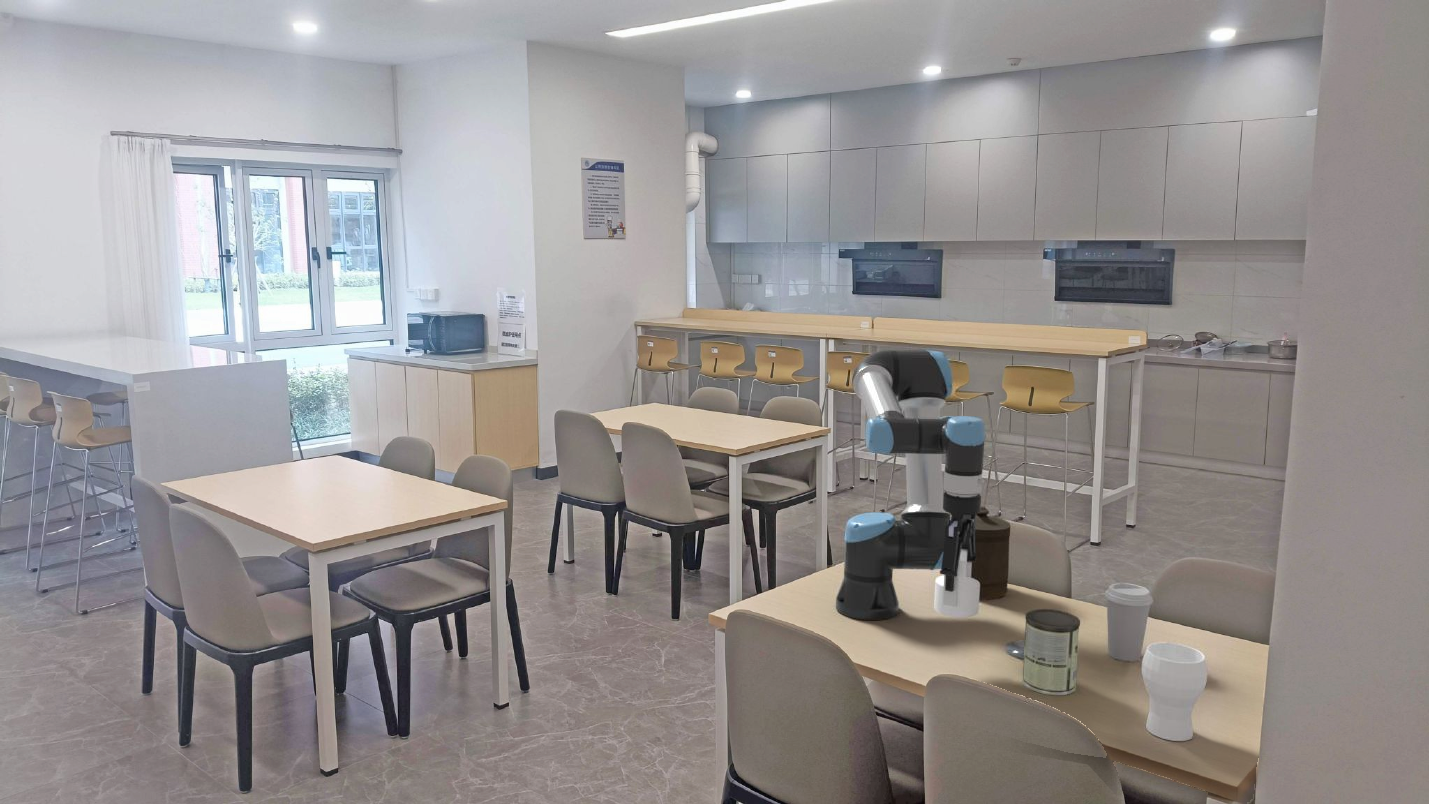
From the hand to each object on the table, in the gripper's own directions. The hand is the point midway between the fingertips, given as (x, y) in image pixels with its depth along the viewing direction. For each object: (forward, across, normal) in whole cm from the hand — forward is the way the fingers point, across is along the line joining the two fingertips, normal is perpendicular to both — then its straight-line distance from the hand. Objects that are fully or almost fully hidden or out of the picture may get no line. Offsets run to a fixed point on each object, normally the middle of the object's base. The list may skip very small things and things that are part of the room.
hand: (956, 597), depth 203 cm
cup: (+14, -9, -42) cm, 46 cm away
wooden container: (+16, +50, +9) cm, 54 cm away
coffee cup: (+15, +24, -30) cm, 42 cm away
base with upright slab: (+3, 0, 0) cm, 3 cm away
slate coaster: (+15, +15, -12) cm, 25 cm away
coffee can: (+15, 0, -19) cm, 24 cm away
